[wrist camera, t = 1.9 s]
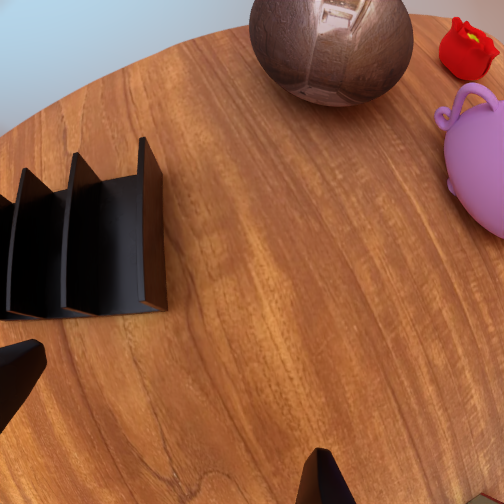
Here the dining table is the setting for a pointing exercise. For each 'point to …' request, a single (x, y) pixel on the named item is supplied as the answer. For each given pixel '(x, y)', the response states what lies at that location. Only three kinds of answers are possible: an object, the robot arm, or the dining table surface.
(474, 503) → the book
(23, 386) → the robot arm
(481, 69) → the flower
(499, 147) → the teapot
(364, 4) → the wooden sphere
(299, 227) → the dining table surface
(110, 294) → the book rack
